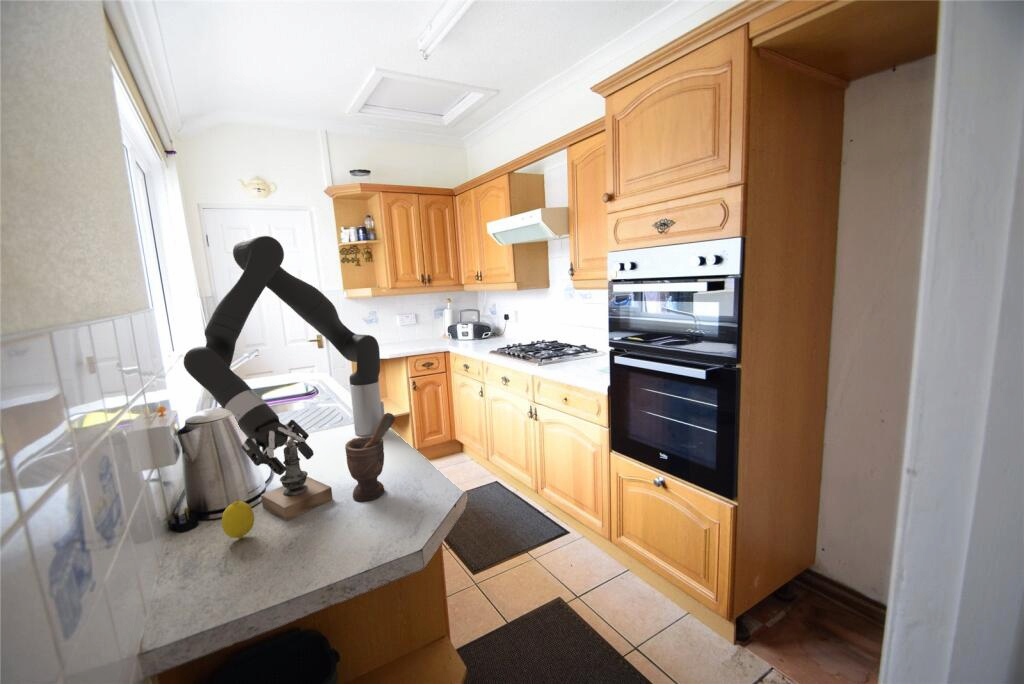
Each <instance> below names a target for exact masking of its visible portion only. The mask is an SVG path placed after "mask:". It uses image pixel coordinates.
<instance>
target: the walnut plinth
mask: <svg viewBox="0 0 1024 684" xmlns="http://www.w3.org/2000/svg"><path fill="white" fill-rule="evenodd" d="M303 485H306V486H308V490H307V491H305V492H304V493H302V494H299V495H296V496H284V495H283V492H284V491H285V490H286V489H287V488H285V487H284V486H283V485H281V486H279V487H277V488H274V489H272V490H270V491H267V492H264V493H261V494H260V498H261V506H262V507H263V508H264V509H265V510H267V511H269V512H271V513H272V514H274V515H276V516H277V517H279V518H281V519H283V521H289V520H291V519H293V518H295V517H297V516H300V515H302V514H303V513H306V512H308V511H310V510H312V509H314V508H317V507H318V506H321V505H323V504H325V503H327V502H330V501H331V500H333V498H334V497H333V490H332V486H330V485H327V484H325V483H324V482H320V481H318V480H316V479H314V478H312V477H309V476H308V475H307V478H306V482H305V483H304V484H303Z"/></svg>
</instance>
